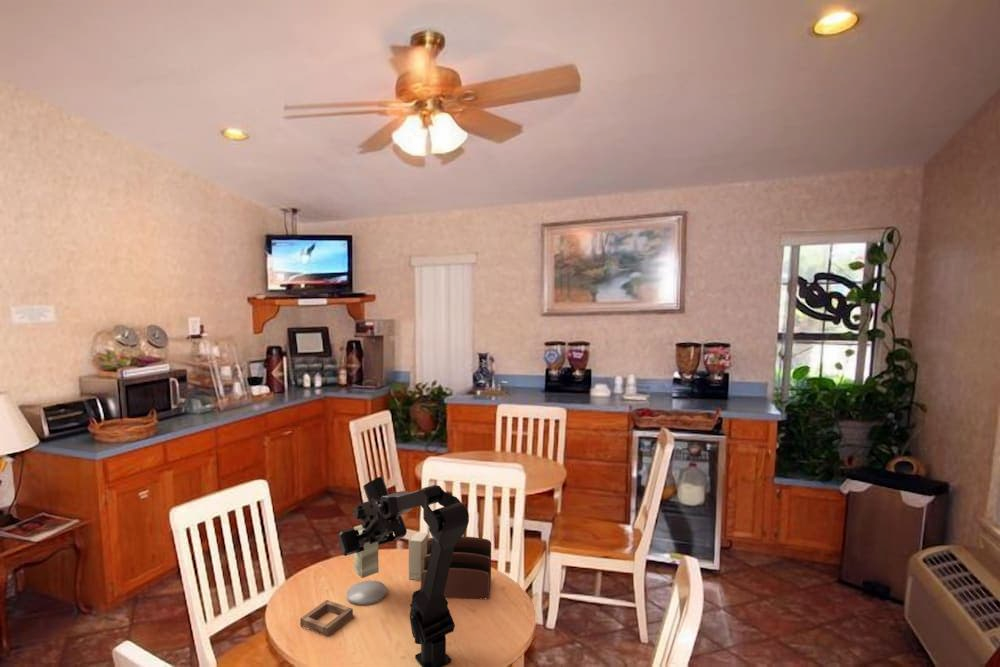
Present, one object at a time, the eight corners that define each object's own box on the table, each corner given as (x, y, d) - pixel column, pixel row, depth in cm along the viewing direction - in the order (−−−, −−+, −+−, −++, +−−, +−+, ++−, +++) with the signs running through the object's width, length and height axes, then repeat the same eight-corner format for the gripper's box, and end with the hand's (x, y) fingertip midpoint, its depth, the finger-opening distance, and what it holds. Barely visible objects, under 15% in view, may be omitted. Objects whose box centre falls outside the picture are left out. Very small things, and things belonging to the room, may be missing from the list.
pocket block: (352, 616, 131) (352, 608, 131) (327, 636, 123) (327, 628, 122) (326, 606, 135) (326, 599, 135) (300, 625, 126) (300, 618, 126)
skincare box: (421, 581, 148) (421, 541, 148) (407, 579, 149) (408, 540, 149) (428, 570, 155) (428, 532, 154) (415, 568, 155) (415, 531, 155)
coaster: (392, 596, 140) (392, 593, 140) (354, 610, 133) (354, 606, 133) (377, 579, 149) (377, 576, 149) (341, 591, 142) (341, 588, 142)
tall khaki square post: (378, 572, 140) (377, 527, 140) (362, 578, 137) (361, 532, 137) (370, 565, 144) (370, 522, 144) (354, 571, 141) (353, 527, 141)
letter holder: (426, 579, 150) (426, 534, 149) (491, 581, 149) (491, 535, 149) (420, 598, 140) (420, 549, 139) (489, 600, 139) (489, 551, 139)
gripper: (401, 487, 143) (384, 513, 152) (340, 503, 131) (324, 530, 140) (416, 523, 137) (396, 547, 146) (353, 542, 125) (335, 568, 134)
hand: (364, 547), depth 142 cm, fingers closed on tall khaki square post, 5 cm apart
